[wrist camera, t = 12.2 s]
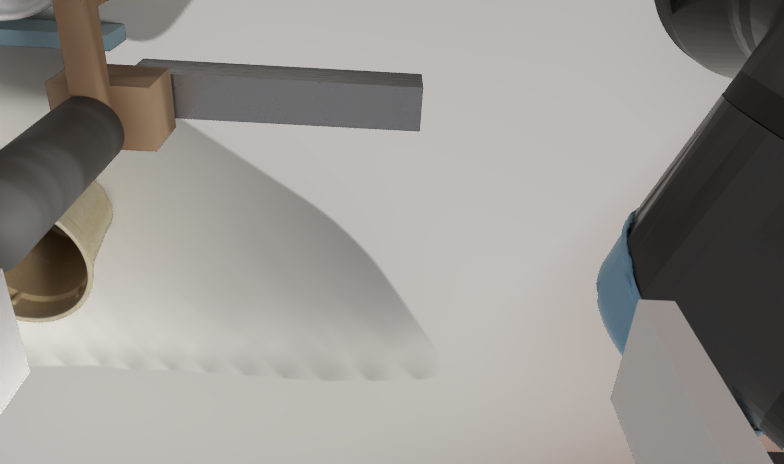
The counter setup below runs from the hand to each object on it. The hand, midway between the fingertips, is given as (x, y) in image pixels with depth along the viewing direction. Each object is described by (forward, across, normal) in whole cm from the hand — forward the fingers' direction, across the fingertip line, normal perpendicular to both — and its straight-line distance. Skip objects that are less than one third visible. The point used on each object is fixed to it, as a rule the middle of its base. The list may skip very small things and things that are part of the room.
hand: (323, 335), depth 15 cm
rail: (+35, +6, +6) cm, 36 cm away
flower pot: (+35, +22, +16) cm, 44 cm away
